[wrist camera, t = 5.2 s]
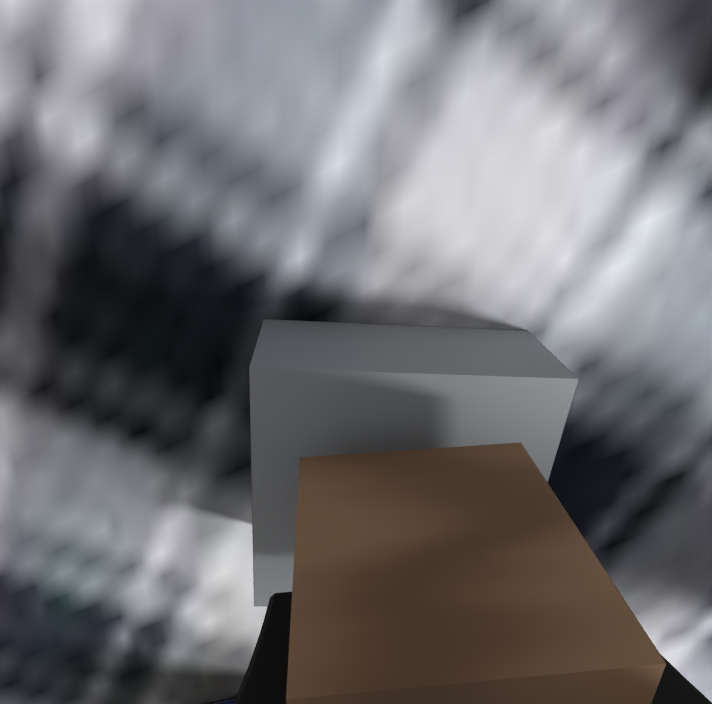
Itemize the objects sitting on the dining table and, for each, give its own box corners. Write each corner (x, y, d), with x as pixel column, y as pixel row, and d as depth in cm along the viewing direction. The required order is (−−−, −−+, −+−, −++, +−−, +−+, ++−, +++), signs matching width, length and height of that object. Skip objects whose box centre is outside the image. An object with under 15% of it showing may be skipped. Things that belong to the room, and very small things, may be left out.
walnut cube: (520, 442, 11) (666, 663, 6) (499, 595, 13) (597, 844, 8) (299, 457, 11) (285, 699, 6) (314, 611, 13) (312, 877, 8)
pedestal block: (523, 326, 15) (578, 378, 12) (478, 521, 18) (511, 603, 15) (264, 315, 14) (249, 367, 11) (265, 520, 18) (253, 606, 14)
